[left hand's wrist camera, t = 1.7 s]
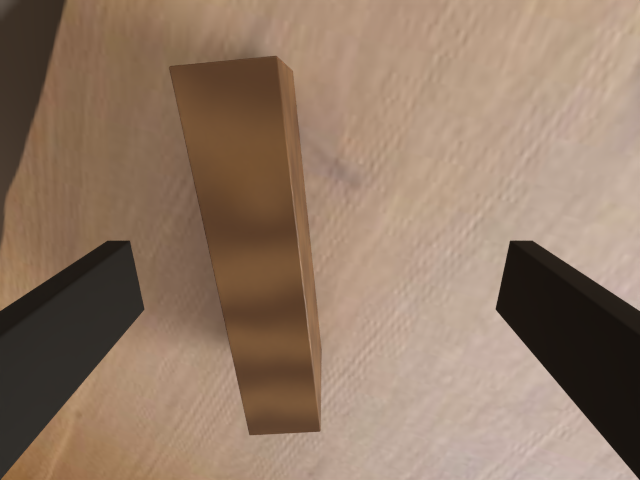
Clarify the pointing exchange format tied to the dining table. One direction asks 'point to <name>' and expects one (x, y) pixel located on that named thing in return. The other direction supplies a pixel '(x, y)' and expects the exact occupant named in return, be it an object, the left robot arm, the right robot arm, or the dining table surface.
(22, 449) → the left robot arm
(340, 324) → the dining table surface
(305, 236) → the bar
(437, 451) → the dining table surface
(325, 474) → the dining table surface
